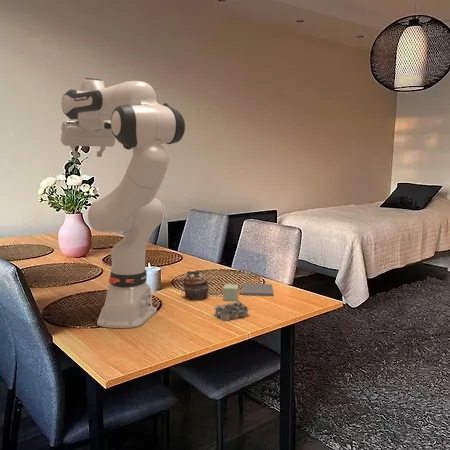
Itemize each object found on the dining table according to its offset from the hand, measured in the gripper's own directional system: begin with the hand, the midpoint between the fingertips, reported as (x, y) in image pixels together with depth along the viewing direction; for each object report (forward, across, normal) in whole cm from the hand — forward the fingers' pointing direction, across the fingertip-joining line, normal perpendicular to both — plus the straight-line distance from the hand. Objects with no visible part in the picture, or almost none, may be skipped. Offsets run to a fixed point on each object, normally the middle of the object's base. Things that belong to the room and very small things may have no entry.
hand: (87, 156), depth 179 cm
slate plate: (+35, +52, -58) cm, 85 cm away
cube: (+34, +37, -60) cm, 78 cm away
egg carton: (+30, +27, -73) cm, 84 cm away
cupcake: (+37, +28, -52) cm, 69 cm away
